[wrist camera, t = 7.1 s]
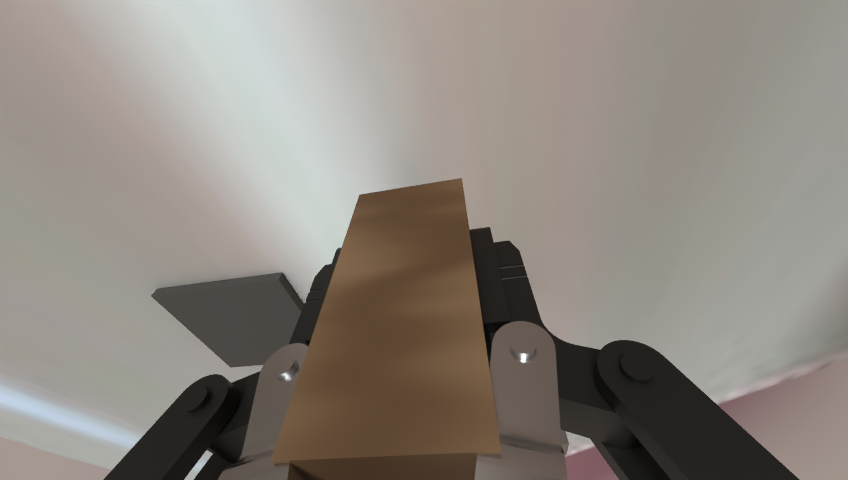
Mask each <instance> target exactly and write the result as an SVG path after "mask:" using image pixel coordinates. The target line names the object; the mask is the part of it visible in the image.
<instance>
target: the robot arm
mask: <svg viewBox="0 0 848 480" xmlns="http://www.w3.org/2000/svg"><path fill="white" fill-rule="evenodd" d="M469 232H470V239H471V246H472V253H473V260H474V267H475V273H476V280H477V287H478V294H479V301H480V308H481V315H482V322H483V329H484V336H485V343H486V350H487V357H488V363H489V370H490V377H491V384H492V391H493V398H494V405H495V412H496V419H497V426H498V433H499V440H500V446H501V454H477V461H476V470H475V480H567V470H566V461H565V455H564V451H563V448H562V442H561V430H564V431H567V432H571V433H574V434H577V435H581V436H584V437H587V438H590V439H591V441H592V442H593V443H594V445H595V446H596V448H597V449H598V450H599V452H600V453H601V455H602V456H603V457H604V459H605V460H606V462H607V463H608V464H609V466H610V467H611V468H612V470H613V471H614V473H615V474H616V476H617V477H618V478H619V480H799V479H798V478H797V477H796V476H795V475H794V474H793V473H791V472H790V471H789V470H788V469H787V468H786V467H785V466H784V465H783V464H782V463H780V462H779V461H778V460H777V459H776V458H775V457H774V456H773V455H771V453H769V452H768V451H767V450H766V449H765V448H764V447H763V446H762V445H761V444H759V443H758V442H757V441H756V440H755V439H754V438H753V437H752V436H751V435H750V434H748V433H747V432H746V431H745V430H744V429H743V428H742V427H741V426H740V425H739V424H738V423H736V422H735V421H734V420H733V419H732V418H731V417H730V416H729V415H728V414H727V413H725V412H724V411H723V410H722V409H721V408H720V407H719V406H718V405H717V404H716V403H715V402H713V401H712V400H711V399H710V398H709V397H708V396H707V395H706V394H705V393H704V392H702V391H701V390H700V389H699V388H698V387H697V386H696V385H695V384H694V383H693V382H691V381H690V380H689V379H688V378H687V377H686V376H685V375H684V374H683V373H682V372H680V371H679V370H678V369H677V368H676V367H675V366H674V365H673V364H672V363H671V362H669V361H668V360H667V359H666V358H665V357H664V356H663V355H661V354H660V353H659V352H658V351H656V350H655V349H653V348H651V347H649V346H647V345H645V344H642V343H639V342H635V341H629V340H619V341H614V342H611V343H609V344H607V345H605V346H604V347H603V348H602V349H601V350H598V349H593V348H588V347H583V346H578V345H574V344H570V343H567V342H565V341H562V340H561V339H559V338H557V337H556V336H554V335H553V334H552V333H550V332H549V331H548V330H547V328H546V327H545V326H544V324H543V323H542V320H541V318H540V315H539V312H538V308H537V305H536V302H535V299H534V296H533V293H532V289H531V286H530V283H529V280H528V277H527V274H526V270H525V267H524V265H523V261H522V258H521V255H520V251H519V250H518V249H517V248H516V247H515V246H514V245H513V244H512V243H511V242H510V241H502V242H495V243H493V238H492V234H491V230H490V227H486V228H479V229H472V230H469ZM341 249H342V248H338V249H337V251H336V253H335V256H334V259H333V262H332V264H329V265H325V266H324V267H323V268H322V269H321V270H320V272H319V273H318V274H317V275H316V276H315V278H314V281H313V283H312V286H311V288H310V292H309V294H308V296H307V299H306V303H305V304H304V306H303V309H302V311H301V314H300V316H299V319H298V322H297V324H296V327H295V329H294V332H293V334H292V337H291V339H290V342H289V344H288V345H286V346H284V347H282V348H280V349H279V350H277V351H276V352H275V353H273V354H272V355H271V356H270V357H269V358H268V360H267V361H266V362H265V364H264V365H263V367H262V369H261V371H260V372H257V373H255V374H252V375H250V376H247V377H245V378H242V379H240V380H237V381H235V382H232V383H231V382H229V381H228V380H227V379H226V378H225V377H223V376H222V375H218V374H214V375H209V376H206V377H203V378H201V379H199V380H198V381H196V382H194V383H193V384H192V385H190V386H189V387H188V388H187V389H186V390H185V391H184V392H183V393H182V394H181V395H180V396H179V397H178V398H177V399H176V400H175V402H174V403H173V404H172V405H171V406H170V407H169V408H168V409H167V410H166V411H165V413H164V414H163V415H162V416H161V417H160V418H159V419H158V420H157V421H156V422H155V424H154V425H153V426H152V427H151V428H150V429H149V430H148V431H147V432H146V433H145V435H144V436H143V437H142V438H141V439H140V440H139V441H138V442H137V443H136V444H135V446H134V447H133V448H132V449H131V450H130V451H129V452H128V453H127V454H126V455H125V457H124V458H123V459H122V460H121V461H120V462H119V463H118V464H117V465H116V466H115V468H114V469H113V470H112V471H111V472H110V473H109V474H108V475H107V476H106V477H105V479H104V480H184V479H185V477H186V476H187V475H188V473H189V472H190V471H191V470H192V468H193V467H194V466H195V464H196V463H197V462H198V460H199V459H200V458H201V456H202V455H203V454H204V452H205V451H206V450H208V451H210V452H211V453H213V455H212V456H211V457H210V459H209V460H208V461H207V463H206V464H205V465H204V467H203V468H202V469H201V471H200V472H199V473H198V475H197V476H196V477H195V479H194V480H313V479H312V478H310V477H309V476H308V475H306V474H305V473H303V472H302V471H301V470H299V469H298V468H297V467H295V466H294V465H292V464H291V463H275V464H274V463H272V462H271V461H270V460H271V457H272V454H273V451H274V448H275V445H276V442H277V439H278V436H279V433H280V430H281V428H282V425H283V422H284V419H285V416H286V413H287V410H288V407H289V404H290V401H291V398H292V395H293V392H294V389H295V386H296V383H297V380H298V377H299V374H300V371H301V368H302V365H303V362H304V359H305V356H306V353H307V350H308V347H309V344H310V341H311V338H312V335H313V332H314V329H315V326H316V323H317V320H318V317H319V314H320V311H321V308H322V305H323V302H324V299H325V296H326V293H327V290H328V287H329V284H330V281H331V278H332V275H333V272H334V269H335V266H336V263H337V260H338V257H339V255H340V252H341Z"/></svg>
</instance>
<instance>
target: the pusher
mask: <svg viewBox="0 0 848 480" xmlns="http://www.w3.org/2000/svg"><path fill="white" fill-rule="evenodd" d="M477 454H501V446H500V440H499V433H498V426H497V419H496V412H495V405H494V398H493V391H492V384H491V377H490V370H489V363H488V357H487V350H486V343H485V336H484V329H483V322H482V315H481V308H480V301H479V294H478V287H477V280H476V273H475V267H474V260H473V253H472V246H471V239H470V232H469V225H468V218H467V211H466V204H465V197H464V190H463V183H462V178H460V179H453V180H447V181H441V182H435V183H429V184H423V185H417V186H410V187H404V188H398V189H392V190H386V191H380V192H374V193H368V194H361V195H359V198H358V201H357V204H356V207H355V210H354V213H353V216H352V219H351V222H350V225H349V228H348V231H347V234H346V237H345V240H344V243H343V246H342V249H341V252H340V255H339V257H338V260H337V263H336V266H335V269H334V272H333V275H332V278H331V281H330V284H329V287H328V290H327V293H326V296H325V299H324V302H323V305H322V308H321V311H320V314H319V317H318V320H317V323H316V326H315V329H314V332H313V335H312V338H311V341H310V344H309V347H308V350H307V353H306V356H305V359H304V362H303V365H302V368H301V371H300V374H299V377H298V380H297V383H296V386H295V389H294V392H293V395H292V398H291V401H290V404H289V407H288V410H287V413H286V416H285V419H284V422H283V425H282V428H281V430H280V433H279V436H278V439H277V442H276V445H275V448H274V451H273V454H272V457H271V460H270V461H271V462H272V463H274V464H275V463H291V464H292V465H294V466H295V467H297V468H298V469H299V470H301V471H302V472H303V473H305V474H306V475H308V476H309V477H310V478H312V479H313V480H475V470H476V461H477Z"/></svg>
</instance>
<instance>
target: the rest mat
mask: <svg viewBox="0 0 848 480" xmlns="http://www.w3.org/2000/svg"><path fill="white" fill-rule="evenodd" d="M151 296H152V297H153V298H154V299H155V300H156V301H157V302H158V303H159V304H161V305H162V306H163V307H164V308H165V309H166V310H167V311H168V312H169V313H171V314H172V315H173V316H174V317H175V318H176V319H177V320H178V321H180V322H181V323H182V324H183V325H184V326H185V327H186V328H187V329H188V330H190V331H191V332H192V333H193V334H194V335H195V336H196V337H197V338H198V339H200V340H201V341H202V342H203V343H204V344H205V345H206V346H207V347H208V348H210V349H211V350H212V351H213V352H214V353H215V354H216V355H217V356H219V357H220V358H221V359H222V360H223V361H224V362H225V363H226V364H227V365H229V366H230V367H240V366H251V365H263V364H265V362H266V361H267V360H268V358H269V357H270V356H271V355H272V354H273V353H275V352H276V351H277V350H279V349H280V348H282V347H284V346H286V345H288V344H289V342H290V339H291V337H292V334H293V332H294V329H295V327H296V324H297V322H298V319H299V316H300V314H301V311H302V309H303V306H304V304H303V303H302V301H301V300H300V298H299V297H298V295H297V294H296V292H295V291H294V289H293V288H292V286H291V285H290V284H289V282H288V281H287V279H286V278H285V276H284V275H283V273H276V274H268V275H260V276H253V277H245V278H237V279H230V280H222V281H214V282H207V283H199V284H191V285H184V286H176V287H168V288H161V289H157V290H156V291H155V292H154V293H153V294H152V295H151Z"/></svg>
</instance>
